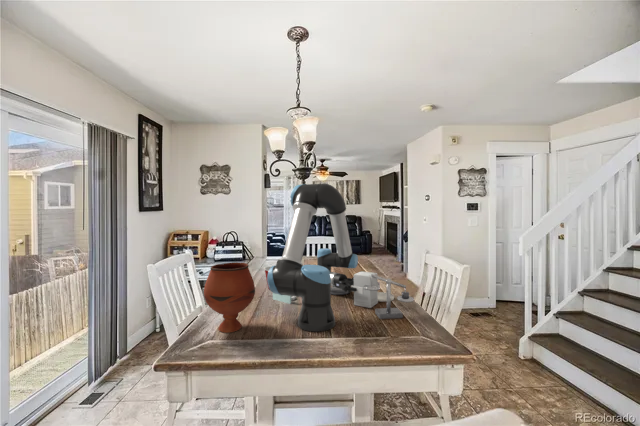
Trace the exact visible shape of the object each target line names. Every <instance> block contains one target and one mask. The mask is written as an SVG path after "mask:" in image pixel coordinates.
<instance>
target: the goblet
mask: <svg viewBox="0 0 640 426" xmlns="http://www.w3.org/2000/svg"><path fill="white" fill-rule="evenodd" d="M209 269H210V270H209V273H208V276H207V278H206V281H205V284H204V288H203V296H204V300H205V302H206V305H207V306H208V307H209V308H211V310H213V311H214V312H215V313H217V314H219V315H222V318H223V319H224V320H223V321H222V322H221V323H220V325H219V326H218V328H217V330H218V331H219V332H222V333H224V334H225V333H234V332H237V331H240V329H242V324H241V322H240V321H239V319H238V317H239V314H240V313H241V312H243V311H244V310H246V309H247V308H248V307H249V305H250V304H251V303H252V302H253V300H254V298H255V295H256V287H255V282H254V279H253V276H252V273H251V271H250V269H249V263H247V262H225V263H217V264H213V265H212V266H211V267H210V268H209Z"/></svg>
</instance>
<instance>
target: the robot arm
mask: <svg viewBox="0 0 640 426" xmlns="http://www.w3.org/2000/svg"><path fill="white" fill-rule="evenodd" d="M290 205H291V206H292V209H293V211H294V212H293V216H292V220H291V222H290V227H289V231H288V234H287V238H286V242H285V245H284V249H283V252H282V256H281V257H280V258H278V259H277V260H276V261H277V262H276V264H275V265H272V266H270V267H271V268H270V269H269V271H268V276H267V280H266V283H267V282H268V285H267V287H268V286H269V289H270V290H269V289H268V290H269V291H270V292H272V294H273V293H275V294H280V295H288V296H296V298H301V308H300V311H299V314H298V317H297V326H298V328H300V329H301V330H304V331H307V332H325V331H328V330H331V329H333V328H335V326H336V317H335V315H334V311H333V308H332V303H331V302H332V301H331V300H332V299H331V297H332V294H331V287H333V288H334V287H336V288H340V289H342V290H343V291H345V292H347V291H348V294H350V293H351V292H353V293H354V292H356V293H360V294H363V288H362V287H357V286H354V276H353V277H347V275H346V274H344V273H340V272H333V271H332V268H341V269H342V268H343V269H356V268H357V267H358V264H359V262H358V261H359V258H358V257H359V256H358V255H357V254H355V253H353V250H352V245H351V240H350V233H349V228H348V224H347V222H348V221H347V218H346V213H345V212H346V211H347V206H346V202H345V200H344V197H343V195H342V194H341V193H340V191H339V190H338V189H337V188H336V187H334V186H333V185H331V184H330V183H329V184H328V183H310V184H309V183H308V184H307V183H302V184H298V185H294V187H293V188H292V190H291V192H290ZM318 209H325V211H326V214H327V215H328V216H329V218H330V219H329V220H330V224H331V229H332V232H333V238H334V239H333V240H334V242H335V248H336V252H332V250H331V249H330V248H324V247H323V248H319V249H318V250H317V256H316V258H317V260H316V261H317V262H316V263H317V264H304V265H303V263H302V260H303V255H304V252H305V247H306V243H307V239H308V236H309V231H310V228H311V227H310V226H311V223H312V219H313V216H315V215H316V214H317V211H318ZM380 284H381V282H379V281H378V286H380V287H381V285H380Z"/></svg>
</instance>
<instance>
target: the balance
mask: <svg viewBox="0 0 640 426" xmlns="http://www.w3.org/2000/svg"><path fill="white" fill-rule="evenodd" d="M372 277H373V278H376V279H377V280H380V281H382V282H385V283H386V284H385V285H386V286H385V288H386V292H385V293H386V302H385V303H386V307H383V308H375V309H374V313H375V315H376V316H377V318H378V319H379V320H386V319H387V320H388V319H390V320H391V319H403V318H404V316H403V314H404V313H403V312H402V311H401V310H400V309H399V308H398V307H392V303H391V302H392V301H391V294H392V293H391V291H392V289H391V288H392V287H391V286H392V285H394V286H397V287H401V288H403V289H404V291H401V295H398V296H397V297H396V300H397V301H399V302H401V303H413V302H414V299H415V298H414V297H413V296H410V292H409V291H407V289H406V288H407V285H405V284H402V283H400V282H397V281H394V280H392V279H391V278H389V277H388V278H385V277H383V276H382V277H381V276H379V275H377V276H376V275H373V274H372V275H371V284H370V285H364V286H363V288H364V289H365V290H369V291H377V290H378V291H379V290H381V285H380V286H378V285H372Z"/></svg>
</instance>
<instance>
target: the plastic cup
mask: <svg viewBox="0 0 640 426" xmlns="http://www.w3.org/2000/svg"><path fill="white" fill-rule="evenodd" d="M271 267H272V266H266V267H263V270H264V273H265V274H264V275H265V278H266V280H265V281H266V284H267V288H268V290H269V291H271V290H270V289H269V286H268V282H267V276H268V271H269V269H270V268H271Z"/></svg>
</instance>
